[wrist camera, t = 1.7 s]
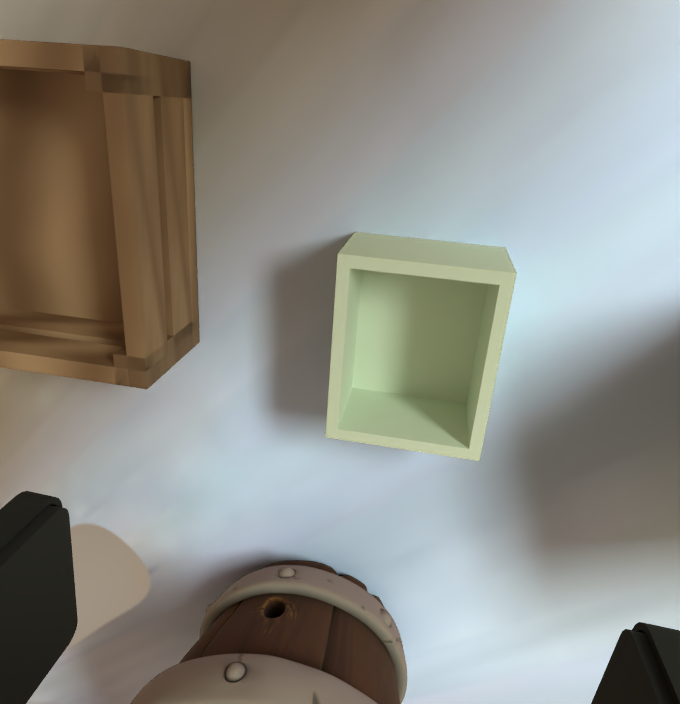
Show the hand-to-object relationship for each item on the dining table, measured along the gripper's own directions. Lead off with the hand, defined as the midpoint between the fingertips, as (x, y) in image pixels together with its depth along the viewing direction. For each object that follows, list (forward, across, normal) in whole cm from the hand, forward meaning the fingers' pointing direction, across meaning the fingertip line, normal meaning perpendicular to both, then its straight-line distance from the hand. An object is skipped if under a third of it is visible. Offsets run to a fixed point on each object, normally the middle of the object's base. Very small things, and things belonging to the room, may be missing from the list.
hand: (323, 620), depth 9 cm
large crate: (+18, +18, -2) cm, 26 cm away
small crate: (+18, -1, +1) cm, 18 cm away
